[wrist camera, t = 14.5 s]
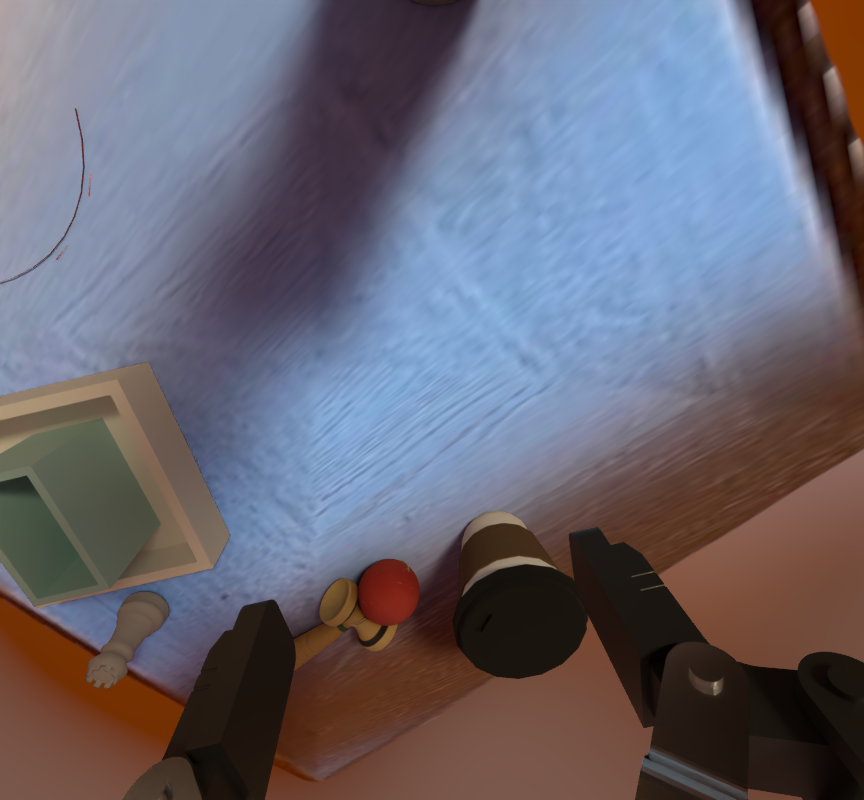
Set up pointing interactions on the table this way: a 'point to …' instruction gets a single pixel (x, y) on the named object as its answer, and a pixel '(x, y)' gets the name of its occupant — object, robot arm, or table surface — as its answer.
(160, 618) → the rook chess piece
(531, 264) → the table surface
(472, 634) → the coffee cup
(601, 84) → the table surface
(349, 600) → the kendama
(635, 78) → the table surface
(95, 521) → the teal tote
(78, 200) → the pink thin branched figure
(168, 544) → the beige tray
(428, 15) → the table surface
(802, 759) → the robot arm
